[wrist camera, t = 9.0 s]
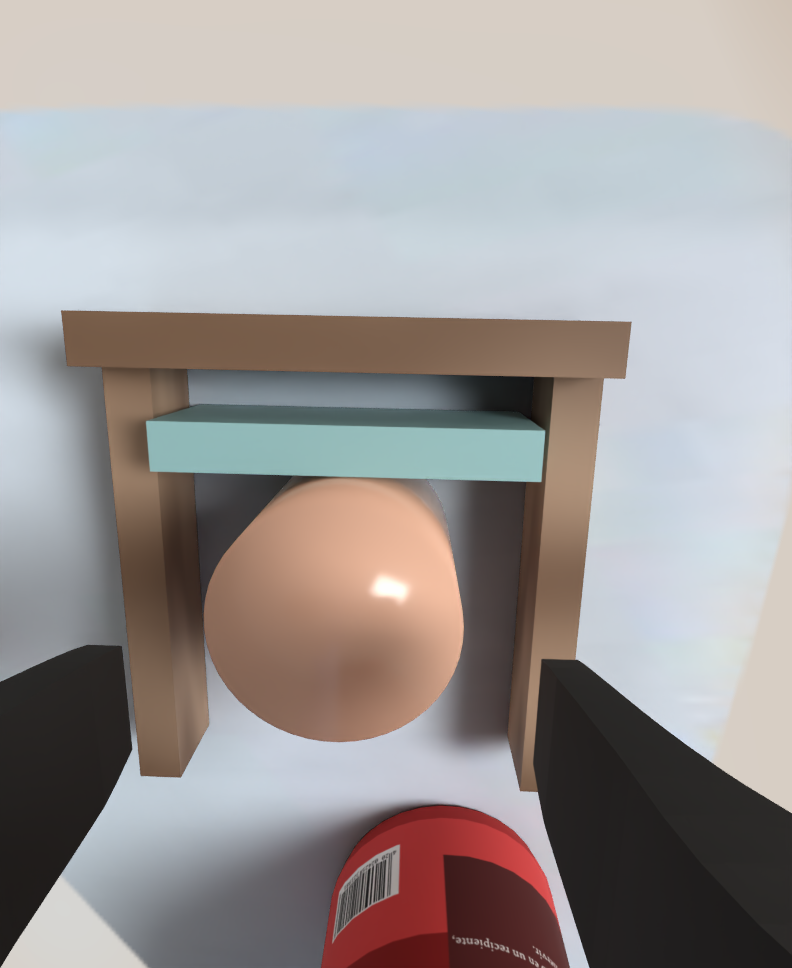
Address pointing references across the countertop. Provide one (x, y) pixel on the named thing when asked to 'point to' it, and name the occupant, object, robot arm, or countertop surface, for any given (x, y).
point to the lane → (333, 348)
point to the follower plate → (347, 442)
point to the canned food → (442, 897)
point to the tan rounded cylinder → (338, 607)
